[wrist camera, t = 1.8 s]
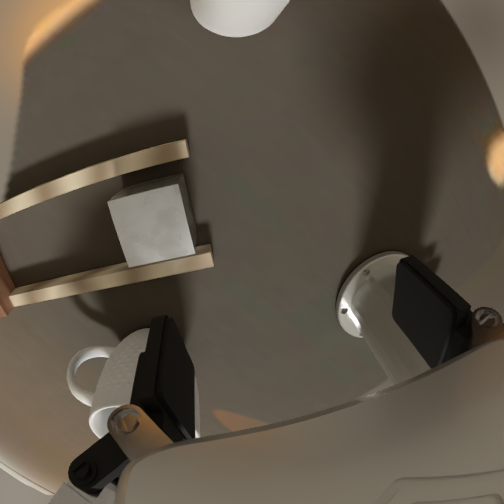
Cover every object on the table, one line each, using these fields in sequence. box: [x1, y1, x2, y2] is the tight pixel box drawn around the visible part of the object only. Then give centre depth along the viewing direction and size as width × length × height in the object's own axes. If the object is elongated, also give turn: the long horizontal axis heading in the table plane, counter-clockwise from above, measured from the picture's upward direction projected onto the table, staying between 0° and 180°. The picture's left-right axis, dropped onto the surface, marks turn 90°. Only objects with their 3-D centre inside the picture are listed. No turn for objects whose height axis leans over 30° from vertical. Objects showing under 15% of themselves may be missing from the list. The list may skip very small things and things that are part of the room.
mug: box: [67, 328, 200, 439], centre depth 28 cm, size 15×11×13 cm
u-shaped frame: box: [0, 139, 214, 317], centre depth 25 cm, size 28×12×4 cm, turn 99°
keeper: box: [107, 173, 197, 268], centre depth 25 cm, size 6×6×5 cm
